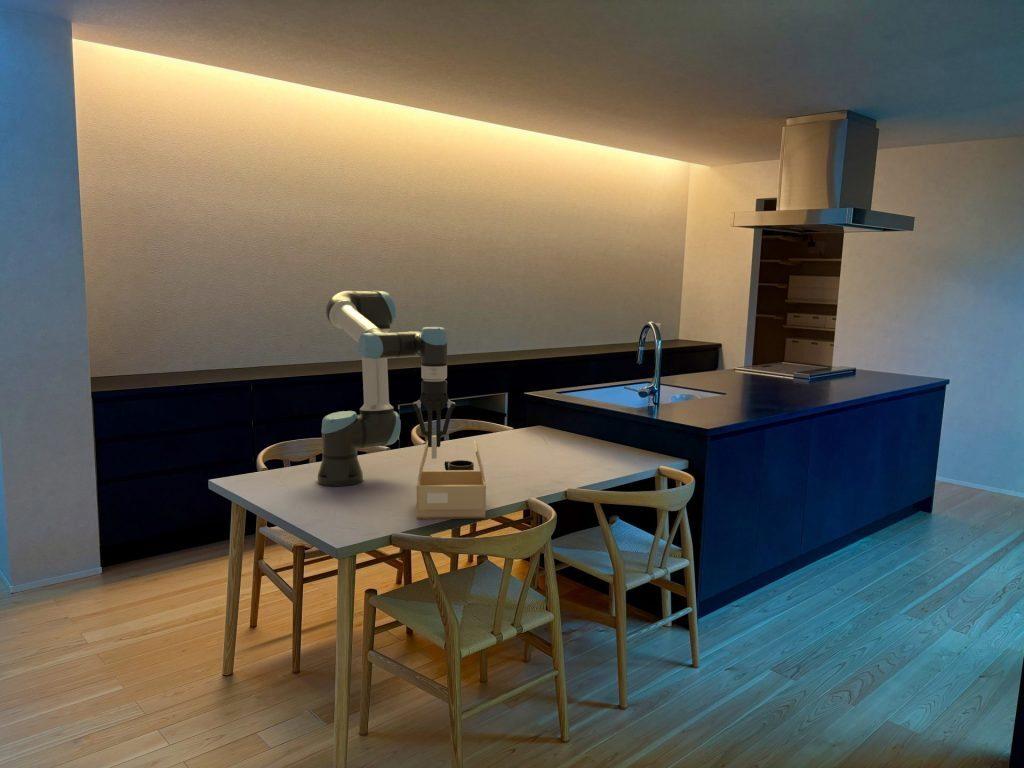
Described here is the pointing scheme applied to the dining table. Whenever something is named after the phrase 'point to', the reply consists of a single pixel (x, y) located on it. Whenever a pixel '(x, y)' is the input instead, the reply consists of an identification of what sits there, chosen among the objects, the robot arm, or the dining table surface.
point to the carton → (451, 494)
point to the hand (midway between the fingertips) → (434, 457)
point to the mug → (459, 465)
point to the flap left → (423, 461)
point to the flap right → (479, 460)
